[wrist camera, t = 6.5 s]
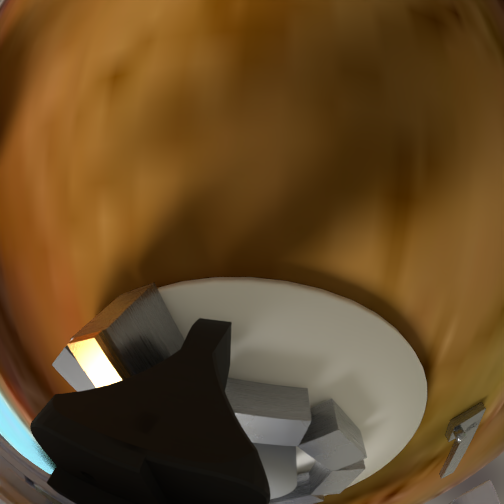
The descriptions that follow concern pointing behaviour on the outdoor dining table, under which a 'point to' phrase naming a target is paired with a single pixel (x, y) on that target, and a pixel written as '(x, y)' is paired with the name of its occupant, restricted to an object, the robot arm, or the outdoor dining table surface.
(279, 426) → the grey block crown
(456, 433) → the pin spanner
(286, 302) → the white round disc
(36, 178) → the outdoor dining table surface
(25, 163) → the outdoor dining table surface
